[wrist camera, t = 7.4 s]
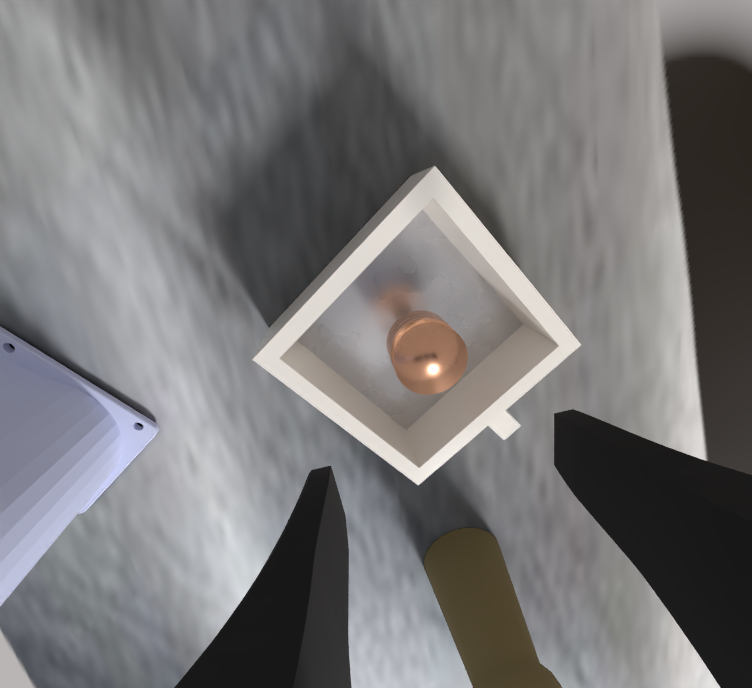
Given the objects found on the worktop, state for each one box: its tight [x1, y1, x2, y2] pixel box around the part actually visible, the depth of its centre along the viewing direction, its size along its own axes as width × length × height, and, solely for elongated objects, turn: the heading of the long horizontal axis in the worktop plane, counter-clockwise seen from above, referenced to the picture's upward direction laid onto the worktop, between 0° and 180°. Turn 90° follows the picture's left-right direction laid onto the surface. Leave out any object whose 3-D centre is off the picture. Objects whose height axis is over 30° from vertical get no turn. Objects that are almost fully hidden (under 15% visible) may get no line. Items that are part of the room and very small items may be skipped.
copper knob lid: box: [297, 209, 523, 430], centre depth 18 cm, size 9×9×5 cm
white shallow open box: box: [253, 166, 581, 485], centre depth 19 cm, size 13×11×4 cm
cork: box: [424, 528, 562, 688], centre depth 23 cm, size 6×6×11 cm
